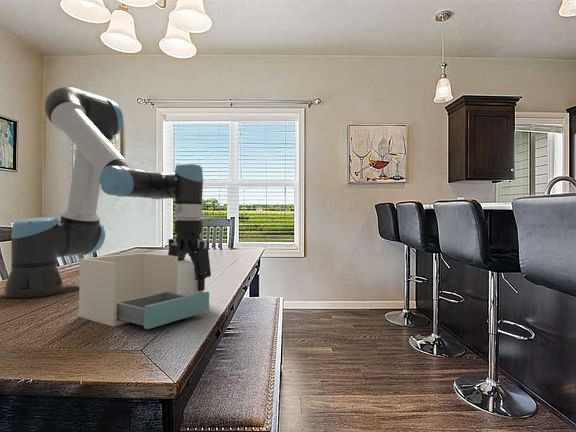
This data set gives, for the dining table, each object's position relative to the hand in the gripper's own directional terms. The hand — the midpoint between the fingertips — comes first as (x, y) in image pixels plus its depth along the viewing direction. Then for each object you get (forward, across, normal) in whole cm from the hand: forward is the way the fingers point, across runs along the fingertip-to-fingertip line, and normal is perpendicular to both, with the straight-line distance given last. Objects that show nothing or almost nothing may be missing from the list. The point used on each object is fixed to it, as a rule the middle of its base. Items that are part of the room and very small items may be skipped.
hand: (187, 300), depth 104 cm
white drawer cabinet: (+1, -4, -15) cm, 16 cm away
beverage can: (+1, 0, 0) cm, 1 cm away
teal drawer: (-1, +8, -15) cm, 17 cm away
